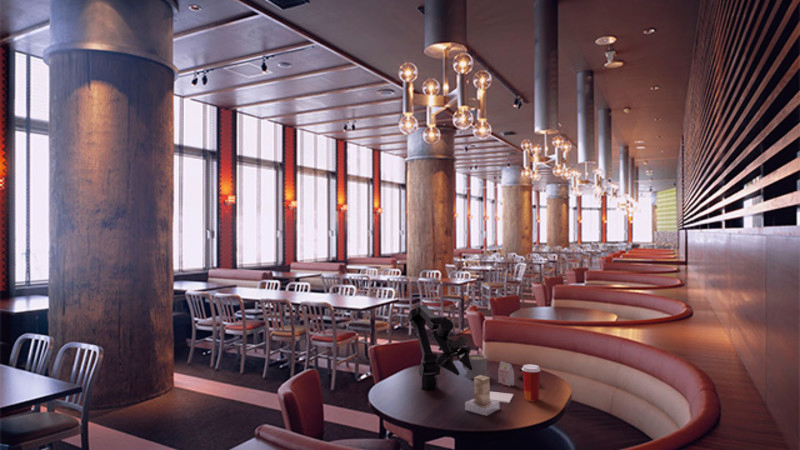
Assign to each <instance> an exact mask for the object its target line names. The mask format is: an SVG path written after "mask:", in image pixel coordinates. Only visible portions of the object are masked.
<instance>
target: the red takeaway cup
mask: <svg viewBox="0 0 800 450" xmlns="http://www.w3.org/2000/svg"><path fill="white" fill-rule="evenodd" d="M522 367H523V366H519V368H518V370H519V372H520V374H519V375H518V376H517V379H518V380H523V370H522ZM539 380H541V379H540V378H539Z"/></svg>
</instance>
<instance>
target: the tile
mask: <svg viewBox="0 0 800 450" xmlns="http://www.w3.org/2000/svg"><path fill="white" fill-rule="evenodd" d="M513 398H514V393H507V392H498V391H490V399H492V400H495V401H499V403H505V404H506V403H507V404H510V403H511V401H512V399H513Z"/></svg>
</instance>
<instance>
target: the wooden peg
mask: <svg viewBox="0 0 800 450" xmlns="http://www.w3.org/2000/svg"><path fill="white" fill-rule="evenodd" d="M490 378H491V377H489V376H487V377H486V376H482V375H479V376H477V377H475V378H474V380H473V391H474V393H473V394H474V395H473V396H474V398H473V399H474V403H476V404H480V405H483V406H485V405H487V404H489V403H490V390H491V389H490V388H491V387H490V384H491V383H490V382H491V381H490Z"/></svg>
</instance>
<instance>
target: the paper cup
mask: <svg viewBox="0 0 800 450" xmlns="http://www.w3.org/2000/svg"><path fill="white" fill-rule="evenodd" d="M521 367H522V370H523V379H522V380H523V388H524V389H523V391H524V393H523V394H524V399H525V401H528V402H537V401H539V396H540V379H539V378H540V375H541V373H540V372H541V369H540V366H539V365H536V364H524V365H523V366H521Z"/></svg>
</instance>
